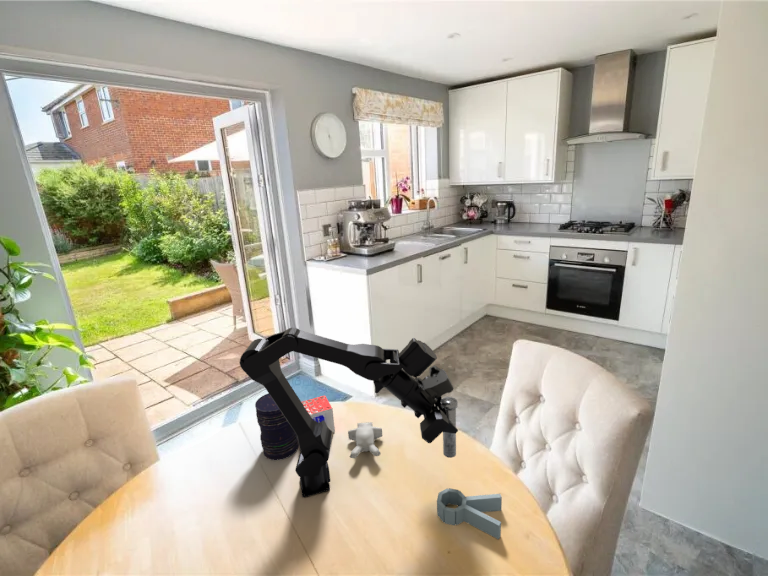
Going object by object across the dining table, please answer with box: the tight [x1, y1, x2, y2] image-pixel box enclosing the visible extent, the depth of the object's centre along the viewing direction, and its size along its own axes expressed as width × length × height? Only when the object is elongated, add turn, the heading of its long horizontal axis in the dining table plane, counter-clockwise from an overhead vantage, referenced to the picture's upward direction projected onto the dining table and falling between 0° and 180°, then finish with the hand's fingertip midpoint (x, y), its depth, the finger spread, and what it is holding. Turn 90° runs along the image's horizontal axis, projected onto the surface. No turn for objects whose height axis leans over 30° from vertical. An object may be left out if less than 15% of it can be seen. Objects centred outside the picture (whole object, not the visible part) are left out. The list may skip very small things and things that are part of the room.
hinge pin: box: [441, 396, 458, 459], centre depth 90 cm, size 4×4×14 cm
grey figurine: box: [347, 421, 383, 459], centre depth 105 cm, size 10×5×15 cm
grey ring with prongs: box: [436, 487, 503, 541], centre depth 81 cm, size 13×8×4 cm, turn 72°
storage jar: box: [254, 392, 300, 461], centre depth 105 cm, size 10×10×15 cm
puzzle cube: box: [301, 395, 336, 433], centre depth 113 cm, size 8×8×8 cm
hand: (455, 427), depth 89 cm, fingers closed on hinge pin, 3 cm apart
